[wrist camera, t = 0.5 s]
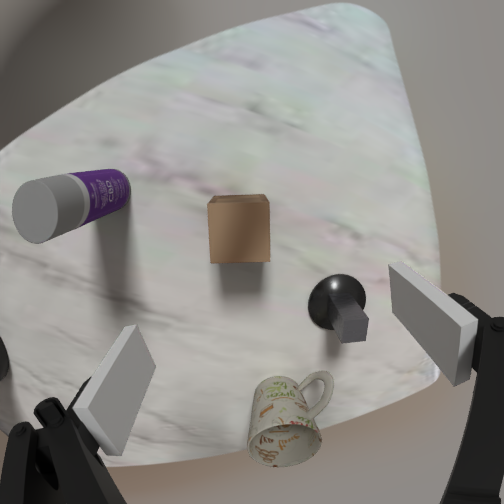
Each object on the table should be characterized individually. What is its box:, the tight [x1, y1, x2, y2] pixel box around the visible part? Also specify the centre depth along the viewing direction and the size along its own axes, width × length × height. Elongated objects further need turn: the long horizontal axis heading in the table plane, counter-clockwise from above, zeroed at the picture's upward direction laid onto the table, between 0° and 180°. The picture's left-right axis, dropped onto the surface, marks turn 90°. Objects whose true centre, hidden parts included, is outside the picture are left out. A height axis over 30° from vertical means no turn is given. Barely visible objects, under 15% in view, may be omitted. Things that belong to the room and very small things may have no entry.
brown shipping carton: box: [207, 194, 270, 263], centre depth 31 cm, size 5×5×7 cm
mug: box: [247, 371, 334, 467], centre depth 35 cm, size 8×13×10 cm, turn 141°
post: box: [308, 274, 369, 343], centre depth 34 cm, size 7×7×7 cm
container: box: [12, 169, 131, 244], centre depth 25 cm, size 5×5×15 cm
